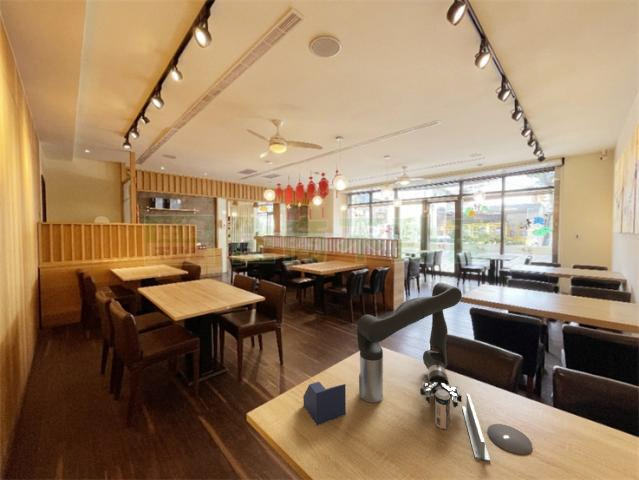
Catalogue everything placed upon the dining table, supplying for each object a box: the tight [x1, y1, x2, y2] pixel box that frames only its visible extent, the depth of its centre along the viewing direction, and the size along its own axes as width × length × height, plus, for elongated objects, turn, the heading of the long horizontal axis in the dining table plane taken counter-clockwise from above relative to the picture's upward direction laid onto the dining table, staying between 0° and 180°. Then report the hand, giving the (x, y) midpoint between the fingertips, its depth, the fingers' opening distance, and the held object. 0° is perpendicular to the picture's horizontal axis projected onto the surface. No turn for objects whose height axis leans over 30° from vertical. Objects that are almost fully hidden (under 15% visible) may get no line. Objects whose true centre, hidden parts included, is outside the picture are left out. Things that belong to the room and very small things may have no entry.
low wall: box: [461, 393, 491, 464], centre depth 93 cm, size 4×24×6 cm, turn 161°
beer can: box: [434, 389, 451, 430], centre depth 96 cm, size 5×5×12 cm
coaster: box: [486, 423, 533, 455], centre depth 90 cm, size 12×12×1 cm
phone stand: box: [302, 381, 347, 426], centre depth 105 cm, size 12×12×12 cm
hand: (441, 402), depth 99 cm, fingers open, 8 cm apart
